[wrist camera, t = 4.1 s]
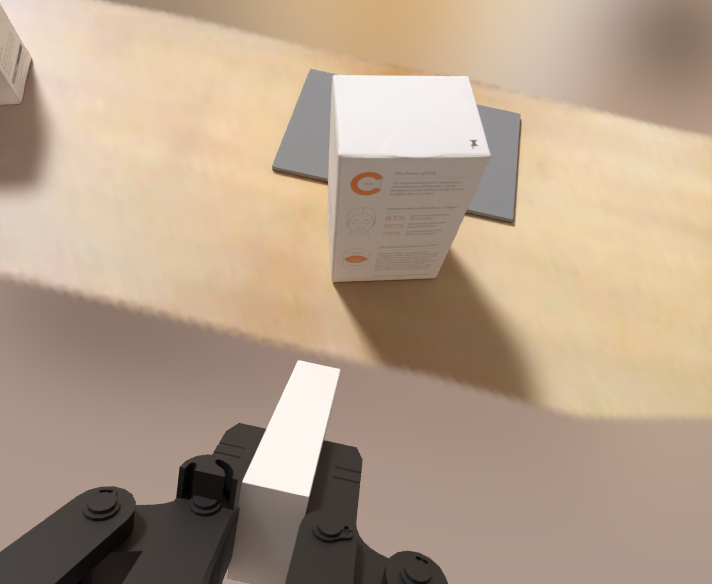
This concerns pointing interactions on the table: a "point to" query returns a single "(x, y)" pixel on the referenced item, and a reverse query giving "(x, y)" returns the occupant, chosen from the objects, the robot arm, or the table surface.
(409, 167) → the small box
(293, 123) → the mat
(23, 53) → the skincare box
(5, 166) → the table surface
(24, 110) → the table surface
